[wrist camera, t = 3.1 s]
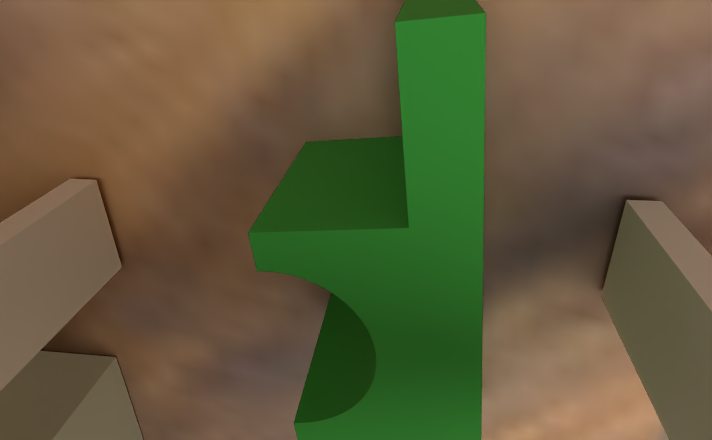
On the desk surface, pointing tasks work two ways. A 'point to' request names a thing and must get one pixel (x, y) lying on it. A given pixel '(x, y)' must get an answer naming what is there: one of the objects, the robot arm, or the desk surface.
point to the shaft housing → (68, 400)
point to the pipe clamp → (395, 246)
